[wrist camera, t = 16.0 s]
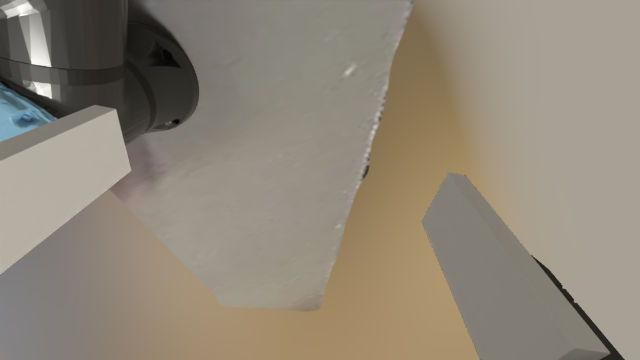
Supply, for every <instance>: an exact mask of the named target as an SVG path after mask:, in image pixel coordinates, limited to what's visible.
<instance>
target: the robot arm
mask: <svg viewBox="0 0 640 360" xmlns="http://www.w3.org/2000/svg"><path fill="white" fill-rule="evenodd" d="M127 21H128V0H0V274H1V273H2V272H4V271H5V270H6V269H8V268H9V267H10V266H11V265H12V264H14V263H15V262H16V261H18V260H19V259H20V258H21V257H23V256H24V255H25V254H26V253H28V252H29V251H30V250H32V249H33V248H34V247H35V246H37V245H38V244H39V243H40V242H42V241H43V240H44V239H45V238H47V237H48V236H49V235H50V234H52V233H53V232H54V231H56V230H57V229H58V228H59V227H61V226H62V225H63V224H64V223H66V222H67V221H68V220H69V219H71V218H72V217H73V216H75V214H77V213H78V212H80V211H81V210H82V209H83V208H85V207H86V206H87V205H88V204H90V203H91V202H92V201H94V200H95V199H96V198H97V197H99V196H100V195H101V194H102V193H104V192H105V191H106V190H107V189H109V188H110V187H111V186H113V185H114V184H115V183H116V182H118V181H119V180H120V179H121V178H123V177H124V176H125V175H126V174H128V173H129V172H130V171H131V168H130V164H129V160H128V156H127V152H126V148H125V145H127V144H128V143H130V142H131V141H133V140H134V139H136V138H138V137H139V136H141V135H142V134H144V133H150V132H157V131H165V130H169V129H172V128H175V127H177V126H179V125H180V124H182V123H183V122H184V121H186V120H187V119H188V118H189V117H190V116H191V115H192V114H193V112H194V111H195V109H196V106H197V103H198V98H199V87H198V81H197V77H196V74H195V71H194V69H193V67H192V65H191V63H190V61H189V59H188V58H187V56H186V55H185V54H184V52H183V51H182V50H181V49H180V47H179V46H178V45H177V44H176V43H175V42H174V41H173V40H171V39H170V38H169V37H168V36H166V35H165V34H164V33H162V32H161V31H159V30H157V29H155V28H153V27H151V26H148V25H145V24H142V23H137V22H127ZM422 224H423V226H424V229H425V231H426V234H427V236H428V238H429V241H430V243H431V245H432V248H433V250H434V252H435V255H436V257H437V259H438V262H439V264H440V267H441V269H442V271H443V274H444V276H445V278H446V281H447V283H448V285H449V288H450V290H451V292H452V295H453V297H454V300H455V302H456V304H457V307H458V309H459V311H460V314H461V316H462V318H463V321H464V323H465V326H466V328H467V330H468V332H469V335H470V337H471V339H472V342H473V344H474V347H475V349H476V352H477V354H478V356H479V359H480V360H625V359H624V358H623V357H622V356H621V355H620V354H619V353H618V351H617V350H616V349H615V348H614V347H613V345H612V344H611V343H610V342H609V341H608V339H607V338H606V337H605V336H604V335H603V334H602V332H601V331H600V330H599V329H598V327H597V326H596V325H595V324H594V323H593V322H592V320H591V319H590V318H589V317H588V316H587V314H586V313H585V312H584V311H583V310H582V308H581V307H580V306H579V305H578V304H577V303H574V299H573V298H572V296H571V295H570V294H569V293H568V292H567V291H566V289H563V288H562V285H561V283H560V282H559V281H558V280H557V279H556V277H555V276H554V275H553V274H552V273H551V271H550V270H549V269H548V268H546V267H545V266H544V265H543V264H542V263H540V262H539V261H538V260H537V259H535V258H534V257H533V256H532V255H530V254H529V252H528V251H527V250H526V249H525V247H524V246H523V245H522V244H521V243H520V241H519V240H518V239H517V238H516V236H515V235H514V234H513V233H512V232H511V230H510V229H509V228H508V227H507V225H506V224H505V223H504V222H503V221H502V219H501V218H500V217H499V216H498V215H497V213H496V212H495V211H494V209H493V208H492V207H491V206H490V204H489V203H488V202H487V201H486V200H485V198H484V197H483V196H482V195H481V193H480V192H479V191H478V190H477V189H476V187H475V186H474V185H473V184H472V183H471V181H470V180H469V179H468V177H467V176H466V175H461V174H456V173H451V172H448V173H447V175H446V177H445V179H444V181H443V183H442V184H441V186H440V188H439V190H438V192H437V194H436V195H435V197H434V199H433V201H432V203H431V205H430V207H429V208H428V210H427V212H426V214H425V216H424V218H423V219H422Z"/></svg>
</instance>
